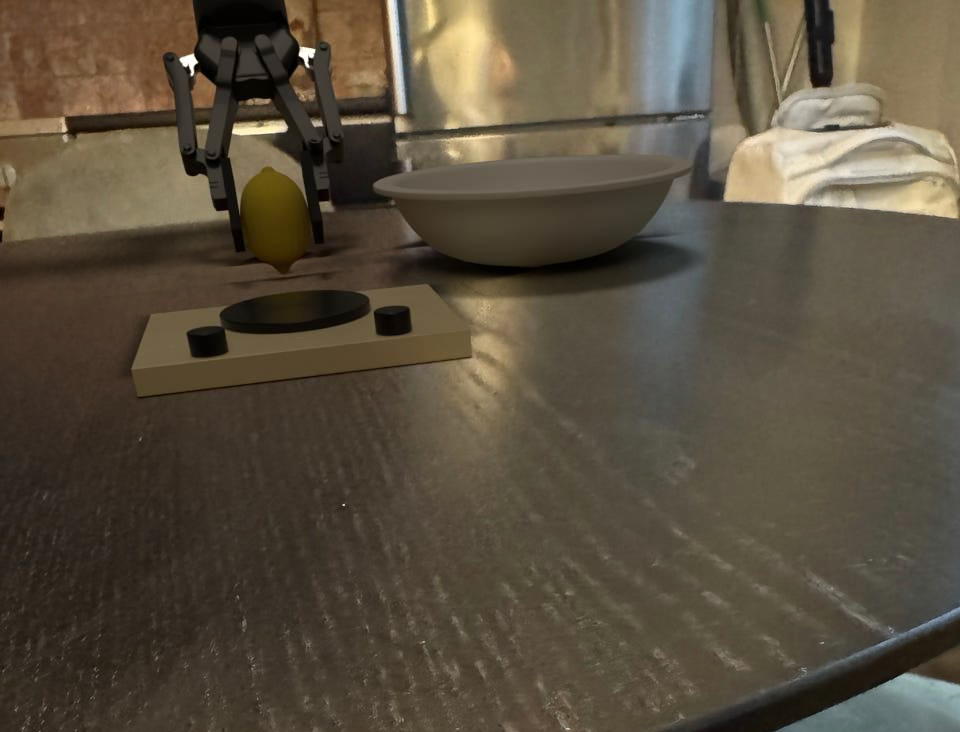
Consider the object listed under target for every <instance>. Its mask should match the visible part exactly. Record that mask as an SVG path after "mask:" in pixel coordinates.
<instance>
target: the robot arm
mask: <svg viewBox="0 0 960 732" xmlns="http://www.w3.org/2000/svg"><path fill="white" fill-rule="evenodd" d="M192 7H193V9H192V10H193V15H194V23H195V28H196V35H197V40H196V41H197V42H196V44H195V45H194V48H193V53H190V54H187V55H185V56H182V57H179V56H178V54H176V53H175V52H173V51H167V52H165V53H163V55H162V62H163V65H164V69H165V74H166V78H167V81H168V85H169V87H170V89H171V90H172V92H173V99H174V111H175V118H176V128H177V129H176V130H177V140H178V148H179V153H180V157H181V159H182V160H181V161H182V165H183V168H184V172H185V174H186V175H187V176H188V177H197V176H199V175H202V176H204V177H206V178H207V181H208V187H209V193H210V198H211V203H212V207H213V208H214V210H215V211H216V212H225V211H226V212H228V217H229V224H230V231H231V235H232V239H233V245H234V249H235V253H246V252H247V251H246V245H245V238H244V236H243V231H242V225H241V219H240V205H239V201H238V194H237V188H236V183H235V177H234V171H233V166H232V160H231V157H230V156H229V152H230V146H231V142H232V137H233V136H232V135H233V131H234V125H235V120H236V116H237V115H238V113H239V106H240V102H245V101H246V102H247V101H249V100H252V99H260V100H271V101H270V102H271V103H272V104H273V106H274V108H275V110H276V112H279V114H280V115H281V117H282V119H283V121H284V123H285V125H286V126H287V128H288V130H289V133H290V134H291V136H292V138H293V140H294V141H295V143H296V145H297V147H298V148H299V155H300V156H299V158H300V167H301V177H302V182H303V187H304V193H305V200H306V203H307V206H308V210H309V215H310V221H311V233H312V236H313V237H312V238H313V242H314V245H324V244H325V235H324V220H323V215H322V210H321V204H320V203H324V202H330V200H331V196H332V192H331V181H330V177H329V171H328V170H329V169H328V166H329V165H331V164H332V163H333V164H337V165H339V164H344V162H345V160H346V140H345V131H344V127H343V124H342V119H341V115H340V111H339V107H338V102H337V99H336V94H335V90H334V86H333V82H332V74H333V68H332V67H333V65H332V64H333V63H332V49H331V44H330V43H329V42H327V41H321V40H320V41H319V42H317V43H316V45H315V48H312V47H306V46H301V45H300V43H299V41H298V40H297V38H296V37H295V36H294V35H293V34H292V32H291V28H290V21H289V17H288V11H287V7H286V0H192ZM299 66H301V67H303V68H304V71H305V75H306V76H307V77H309V81H310V82H311V83H313V84H314V94H315V99H316V103H317V107H318V112H319V116H320V120H321V124H322V128H323V132H324V138H323V134H320V135H319V133H318V131H317V129H316V128H315V126H314V124H313V122H312V120H311V118H310V116H309V114H308V112H307V110H306V109H305V107H304V106H303V104H302V101H301V100H300V98H299V96H298V95H297V93H296V90H295V89H294V87H293V86H292V83H291V81H290V79H291V78H292V77H293V75H294V73H295V72H296V71H297V69H298V68H299ZM199 73H200V74H201V75H202V76H203V77H205V78H206V79H207V80H208V81H209V82H210V83H211V84H213V85H214V86H215V92H214V97H213V103H212V108H211V114H210V119H209V124H208V128H207V134H206V139H205V144H204V148H200V147H199V144H198V133H197V125H196V115H195V106H194V100H193V99H194V98H193V95H192V91H194V89H195V86H196V84H197V76H198V74H199Z"/></svg>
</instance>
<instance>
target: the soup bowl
mask: <svg viewBox="0 0 960 732" xmlns="http://www.w3.org/2000/svg"><path fill="white" fill-rule="evenodd" d="M693 170H694V164H693V162H692V161H691V160H689V159H687V158H683V157H677V156H668V155H659V154H633V153H632V154H631V153H630V154H629V153H628V154H623V153H622V154H618V153H615V154H612V153H610V154H572V155H552V156H551V155H550V156H534V157H521V158H520V157H519V158H508V159H507V158H505V159H497V160H496V159H495V160H486V161H476V162H467V163H466V162H465V163H458V164H451V165H442V166H435V167H429V168H422V169H417V170H410V171H405V172H401V173H397V174H392V175H389V176H386V177H384V178H380V179H379V180H377V181H375V182H373V184H372V189H373V192H374V193H376V194H377V195H380V196H382V197H388V198H392V200H393V202H394V204H395V206H396V208H397V210H398V212H399V213H400V215H401V217H402V218H403V219H404V220H405V222H406V224H407V225H408V226H409V227H410V228H411V230H412V231H413V232H414V233H415V234H416V235H417V236H418V237H419V238H420V239H422V240H423V241H424V242H425V243H426V244H428V246H431V247H432V248H434V250H436V251H438V252H439V253H442V254H443V255H445V256H448V257H451V258H453V259H456V260H459V261H461V262H462V261H463V262H467V263H472V264H477V265H484V266H485V265H486V266H497V267H499V266H500V267H521V268H534V267H545V266H550V265H554V264H555V265H557V264H563V263H568V262H574V261H575V262H576V261H579V260H584V259H589V258H592V257H596V256H598V255H601V254H604V253H607V252H609V251H612V250H614V249H616V248H619V247H620V246H622V245H624V244H625V243H627V242H628V241H630V240H631V239H633V238H634V237H635V236H636V235H637V234H638V233H640V231H642V230H643V229H644V228H645V227H646V226H647V225H648V224H649V223H650V221H652V219H653V218H654V216H655V215H656V214H657V213H658V211H659V210H660V208H661V207H662V205H663V203H664V201H665V200H666V198H667V196H668V194H669V192H670V190H671V187H672V186H673V183H674V180H676V179H679V178H682V177H684V176H686V175H688V174H690V173H691V172H692V171H693Z"/></svg>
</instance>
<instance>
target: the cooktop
mask: <svg viewBox="0 0 960 732" xmlns="http://www.w3.org/2000/svg"><path fill="white" fill-rule="evenodd" d="M149 315H150V316H149V318H148V321H147V324H146V326H145V330H144V332H143V335H142V338H141V341H140V344H139V346H138V349H137V352H136V354H135V358H134V360H133V362H132V365H131V368H130V371H131V375H132V379H133V384H134V387H135V391H136V395H137V397H138V398H142V397H143V398H145V397H150V396H151V397H152V396H158V395H160V396H161V395H168V394H176V393H184V392H192V391H200V390H209V389H215V388H216V389H217V388H224V387H225V388H226V387H233V386H241V385H250V384H258V383H267V382H275V381H282V380H284V381H285V380H291V379H299V378H307V377H315V376H316V377H317V376H323V375H332V374H341V373H349V372H357V371H366V370H373V369H381V368H382V369H383V368H389V367H398V366H407V365H415V364H422V363H431V362H439V361H448V360H455V359H464V358H471V357H472V356H473V351H472V349H473V348H472V335H471V329H470V328H469V327H468V326H467V325H466V323H465V322H464V321H463V320H462V319H461V318H460V317H459V316H458V315H457V313H455V311H453V310H452V308H451V307H450V306H449V305H448V304H447V303H446V301H444V300H443V298H441V296H439V294H438V293H437V292H436V291H435V290H434V289H433V288H432V287H431V285H429V284H428V283H424V284H414V285H404V286H396V287H395V286H394V287H386V288H377V289H367V290H360V291H359V290H358V291H351V290H342V289H315V290H314V289H312V290H311V289H310V290H298V291H289V292H281V293H274V294H268V295H263V296H257V297H253V298H249V299H245V300H242V301H239V302H236V303H233V304H231V305H222V306H212V307H204V308H203V307H202V308H194V309H186V310H176V311H167V312H159V313H150V314H149Z"/></svg>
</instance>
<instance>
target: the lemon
mask: <svg viewBox="0 0 960 732" xmlns="http://www.w3.org/2000/svg"><path fill="white" fill-rule="evenodd" d="M239 202H240V203H239V213H240V219H241V225H242V231H243V238H244V242H245V243H246V245H247V247H248V249H249V251H251V253H252V254H253V255H254V257H256V258H257V259H258V260H259V261H261V262H264V263H265V264H266V265H269V266H271V267H273V268H274V269H275V270H276V271H277V272H278V273H279V274H286V273H288V272H289V270H291V267H292V266H293V264H295V263H296V262H297V261H299V260H300V259H301V258H302V257H303V256H304V254H305V253H306V252H307V250H308V248H309V245H310V241H311V236H312V226H311V221H310V215H309V210H308V204H307V199H306V197H305V196H304V194H303V191H302V190H301V188H300V186H299V185H298V184H297V183H296V182H295V181H294V180H293V179H292V178H291V177H289V176H288V175H286V174H284V173H282V172H279V171H276V170H275V169H274V168H273V167H272V166H268V165H267V166H264V167H262V169H260V172H259V173H257V174H255V175H254V176H252V177H251V178H250V179H249V180H248V182H247V183H246V184H245V186H244V187H243V190H242V192H241V196H240V201H239Z"/></svg>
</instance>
